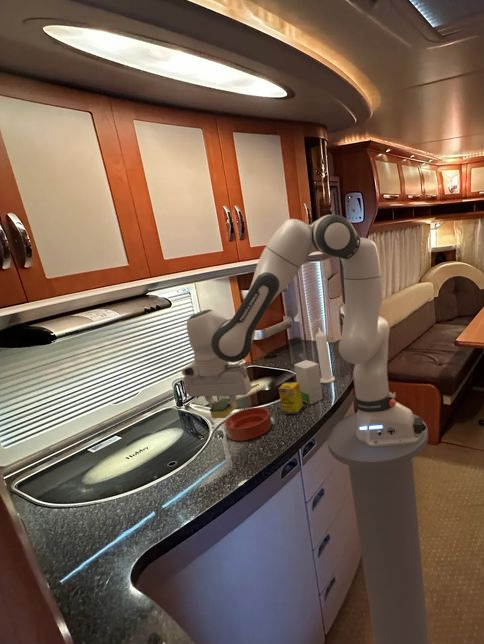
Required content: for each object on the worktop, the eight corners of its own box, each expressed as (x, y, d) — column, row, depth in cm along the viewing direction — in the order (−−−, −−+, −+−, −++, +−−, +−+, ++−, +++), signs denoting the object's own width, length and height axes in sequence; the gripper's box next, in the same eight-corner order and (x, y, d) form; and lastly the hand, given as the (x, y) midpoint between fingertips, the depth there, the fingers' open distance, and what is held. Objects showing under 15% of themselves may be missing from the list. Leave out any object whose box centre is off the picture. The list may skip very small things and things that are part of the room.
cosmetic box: (299, 400, 153) (292, 364, 148) (311, 394, 157) (305, 359, 152) (311, 405, 147) (305, 368, 142) (324, 398, 151) (318, 362, 146)
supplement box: (283, 414, 142) (278, 388, 138) (289, 407, 147) (284, 381, 144) (297, 415, 140) (292, 388, 137) (303, 407, 145) (299, 381, 142)
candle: (337, 380, 168) (329, 326, 161) (323, 385, 165) (314, 330, 157) (330, 376, 174) (323, 324, 167) (317, 380, 171) (308, 328, 163)
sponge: (237, 407, 117) (235, 398, 116) (225, 418, 110) (223, 409, 109) (224, 407, 118) (222, 398, 117) (211, 418, 111) (209, 409, 110)
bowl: (278, 419, 138) (276, 407, 137) (260, 442, 124) (257, 429, 123) (241, 419, 142) (239, 407, 141) (219, 441, 128) (216, 428, 126)
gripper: (249, 359, 110) (259, 402, 114) (189, 363, 115) (200, 403, 119) (239, 367, 104) (249, 412, 108) (176, 370, 109) (188, 413, 113)
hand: (223, 407), depth 114 cm, fingers closed on sponge, 4 cm apart
